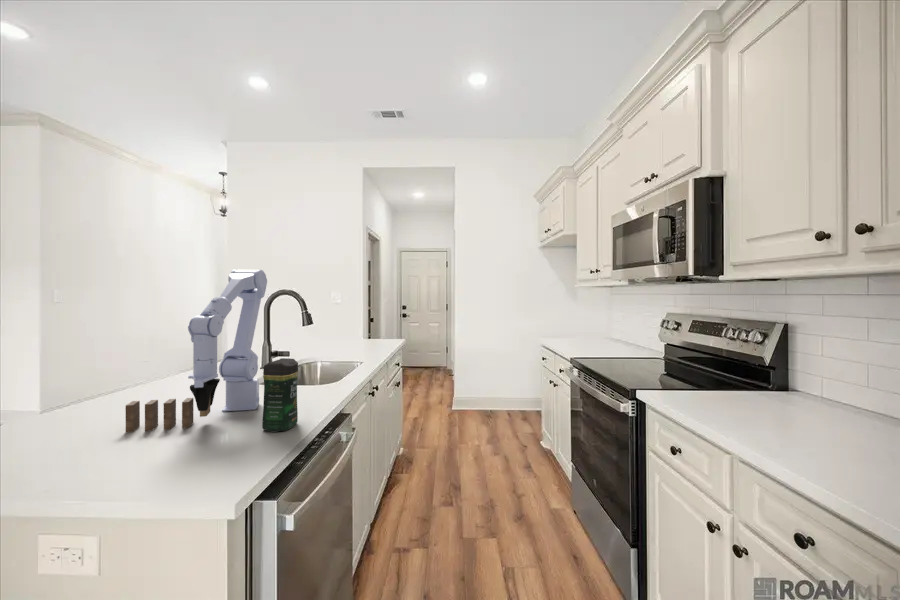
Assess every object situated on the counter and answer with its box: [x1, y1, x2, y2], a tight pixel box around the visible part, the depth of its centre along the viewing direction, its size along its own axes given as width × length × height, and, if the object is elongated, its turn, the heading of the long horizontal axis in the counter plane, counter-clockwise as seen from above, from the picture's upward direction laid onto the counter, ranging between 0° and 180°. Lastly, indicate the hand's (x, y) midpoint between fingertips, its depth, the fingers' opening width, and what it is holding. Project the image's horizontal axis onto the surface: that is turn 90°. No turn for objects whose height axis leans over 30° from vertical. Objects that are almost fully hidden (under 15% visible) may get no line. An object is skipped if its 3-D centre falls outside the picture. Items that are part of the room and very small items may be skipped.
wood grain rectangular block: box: [125, 400, 141, 433], centre depth 112 cm, size 2×4×7 cm, turn 18°
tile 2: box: [181, 397, 194, 429], centre depth 116 cm, size 2×4×7 cm, turn 18°
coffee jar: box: [261, 357, 299, 433], centre depth 115 cm, size 10×8×19 cm
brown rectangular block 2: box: [163, 398, 177, 430], centre depth 115 cm, size 2×4×7 cm, turn 18°
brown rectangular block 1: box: [144, 399, 159, 432], centre depth 113 cm, size 2×4×7 cm, turn 18°
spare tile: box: [199, 401, 211, 418], centre depth 117 cm, size 2×4×7 cm, turn 17°
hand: (205, 408), depth 117 cm, fingers closed on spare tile, 4 cm apart
